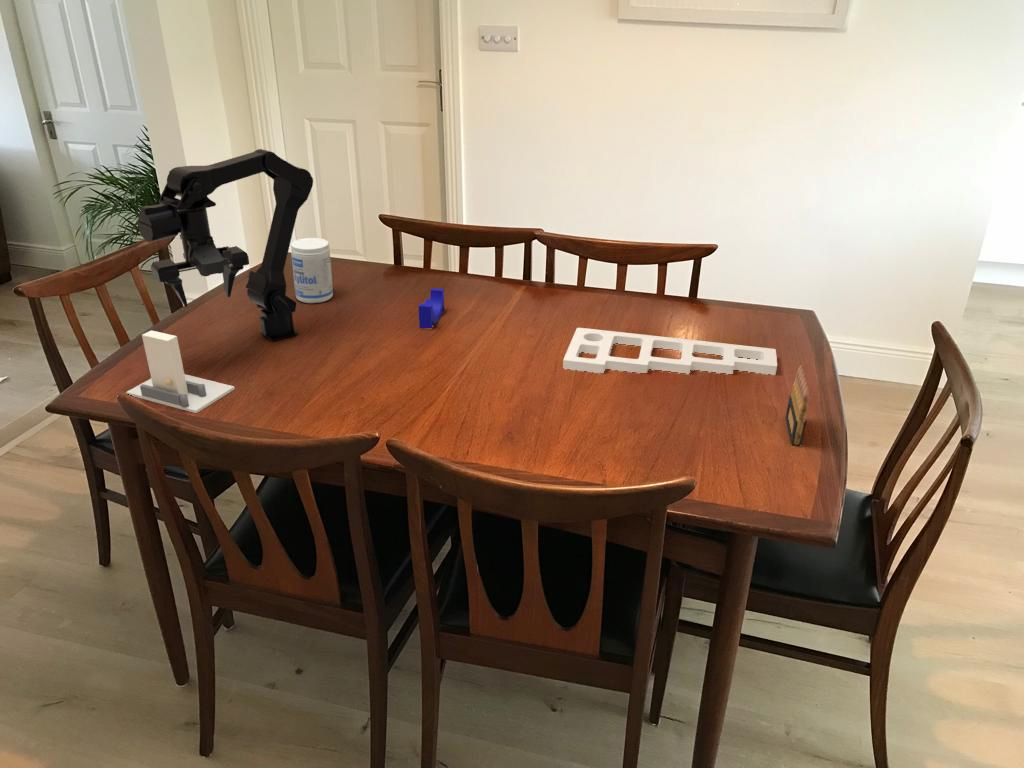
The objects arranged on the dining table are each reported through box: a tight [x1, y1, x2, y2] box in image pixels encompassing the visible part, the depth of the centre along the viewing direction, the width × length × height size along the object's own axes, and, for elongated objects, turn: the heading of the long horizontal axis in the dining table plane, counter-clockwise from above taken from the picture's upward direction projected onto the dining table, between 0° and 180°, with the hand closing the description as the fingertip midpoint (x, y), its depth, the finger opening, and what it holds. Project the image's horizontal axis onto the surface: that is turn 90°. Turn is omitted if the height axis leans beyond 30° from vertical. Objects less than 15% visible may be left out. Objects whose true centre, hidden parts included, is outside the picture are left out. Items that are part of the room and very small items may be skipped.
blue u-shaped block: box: [418, 287, 445, 329], centre depth 199 cm, size 12×4×6 cm, turn 169°
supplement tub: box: [290, 237, 334, 304], centre depth 208 cm, size 10×10×15 cm
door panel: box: [141, 330, 188, 396], centre depth 160 cm, size 4×6×13 cm, turn 66°
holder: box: [562, 327, 778, 376], centre depth 180 cm, size 45×18×3 cm, turn 76°
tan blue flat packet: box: [785, 364, 810, 446], centre depth 152 cm, size 11×2×12 cm, turn 169°
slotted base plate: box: [125, 373, 235, 414], centre depth 165 cm, size 11×18×3 cm, turn 66°
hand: (207, 301), depth 174 cm, fingers open, 9 cm apart
